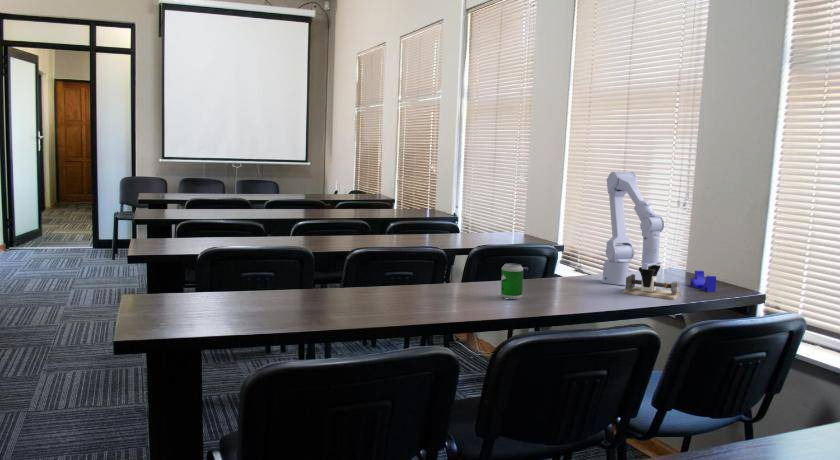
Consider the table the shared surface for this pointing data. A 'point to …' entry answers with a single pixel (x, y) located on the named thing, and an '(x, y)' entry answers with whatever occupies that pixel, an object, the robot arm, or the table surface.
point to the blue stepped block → (703, 282)
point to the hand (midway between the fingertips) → (648, 285)
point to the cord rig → (656, 293)
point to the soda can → (512, 281)
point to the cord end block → (652, 287)
